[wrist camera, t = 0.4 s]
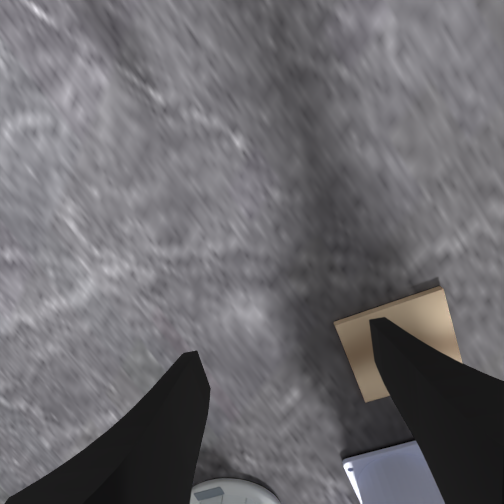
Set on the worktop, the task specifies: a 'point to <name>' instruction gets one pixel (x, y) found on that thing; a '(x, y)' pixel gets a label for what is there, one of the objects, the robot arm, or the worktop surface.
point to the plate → (231, 492)
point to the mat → (408, 318)
